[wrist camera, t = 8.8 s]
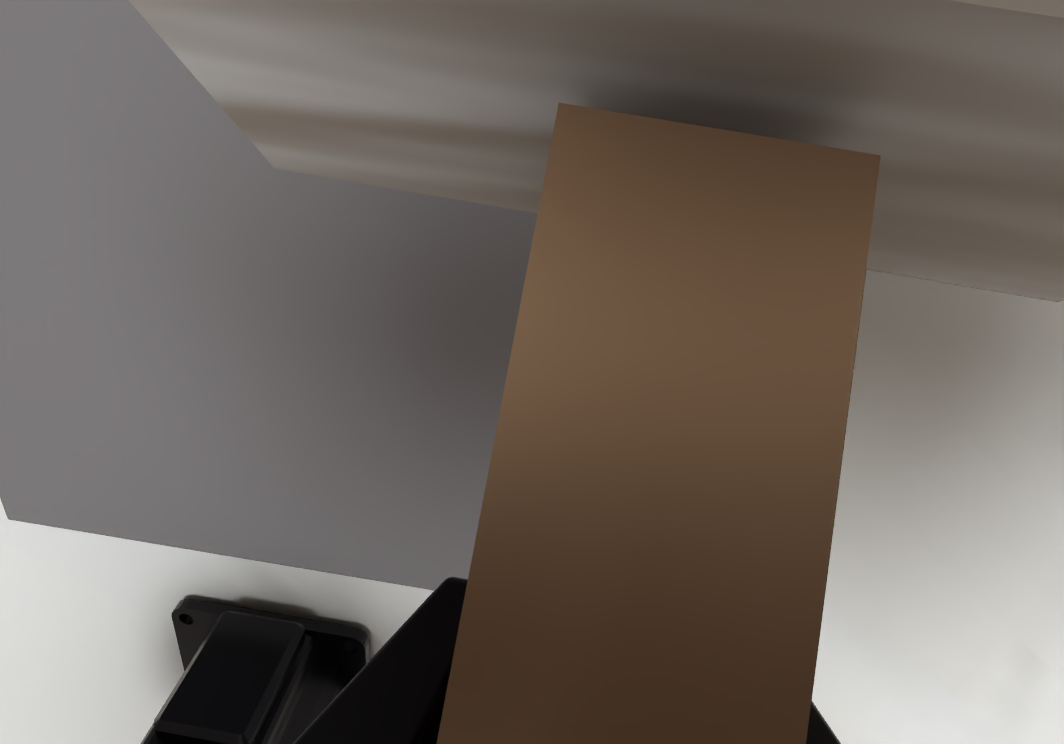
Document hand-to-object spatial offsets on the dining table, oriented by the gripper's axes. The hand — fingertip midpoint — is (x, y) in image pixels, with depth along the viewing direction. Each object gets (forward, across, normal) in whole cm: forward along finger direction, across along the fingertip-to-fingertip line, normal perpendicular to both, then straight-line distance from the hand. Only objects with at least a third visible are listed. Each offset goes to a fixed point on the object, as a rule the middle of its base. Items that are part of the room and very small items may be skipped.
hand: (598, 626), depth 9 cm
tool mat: (+10, +10, 0) cm, 14 cm away
